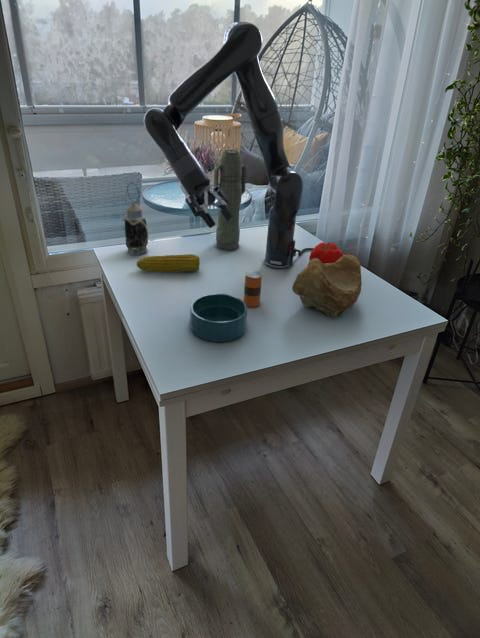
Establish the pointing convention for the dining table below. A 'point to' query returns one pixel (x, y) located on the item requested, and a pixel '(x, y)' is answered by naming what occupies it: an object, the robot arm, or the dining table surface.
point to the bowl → (218, 317)
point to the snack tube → (252, 288)
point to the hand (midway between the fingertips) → (221, 222)
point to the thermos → (230, 198)
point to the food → (169, 263)
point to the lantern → (135, 229)
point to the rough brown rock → (330, 285)
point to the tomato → (326, 253)
